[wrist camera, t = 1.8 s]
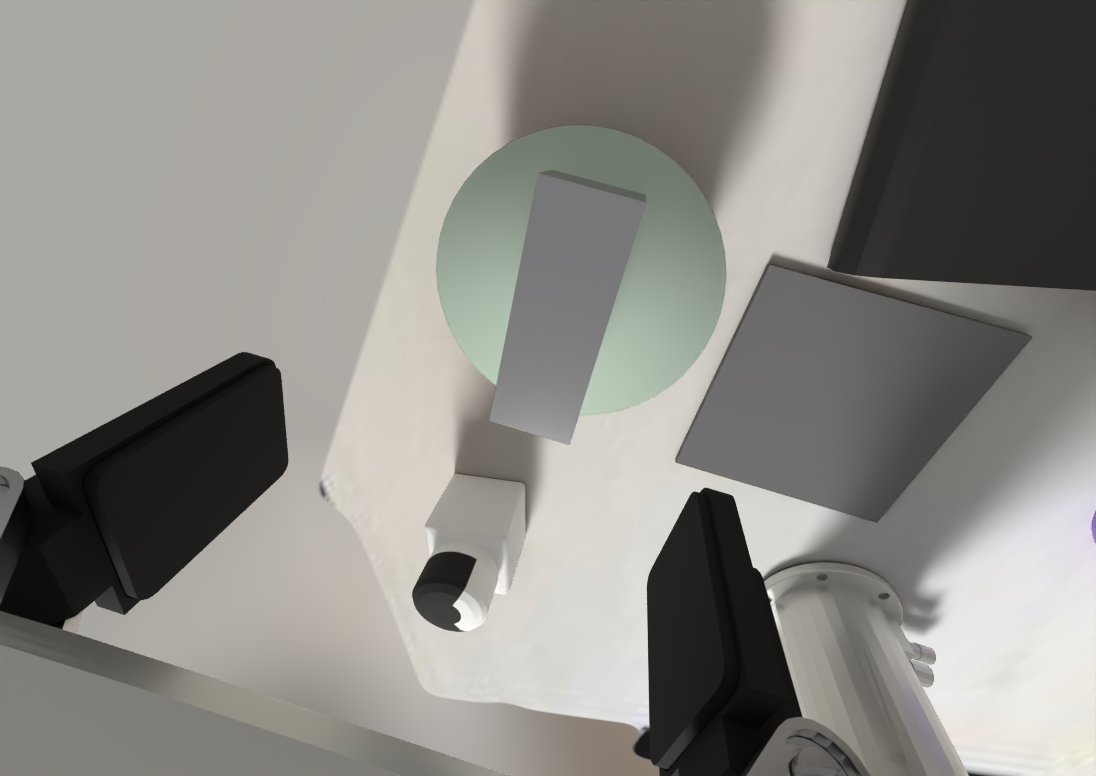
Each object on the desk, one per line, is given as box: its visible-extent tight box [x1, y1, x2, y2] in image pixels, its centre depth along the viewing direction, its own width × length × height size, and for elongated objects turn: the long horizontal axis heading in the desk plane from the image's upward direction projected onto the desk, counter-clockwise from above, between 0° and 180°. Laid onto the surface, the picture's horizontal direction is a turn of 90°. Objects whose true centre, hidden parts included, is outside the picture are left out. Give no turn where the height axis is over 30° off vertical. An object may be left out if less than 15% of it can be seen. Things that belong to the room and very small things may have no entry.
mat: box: [675, 263, 1032, 523], centre depth 34 cm, size 17×17×1 cm
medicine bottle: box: [412, 474, 526, 632], centre depth 40 cm, size 7×7×12 cm
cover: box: [436, 125, 726, 445], centre depth 22 cm, size 15×15×7 cm
